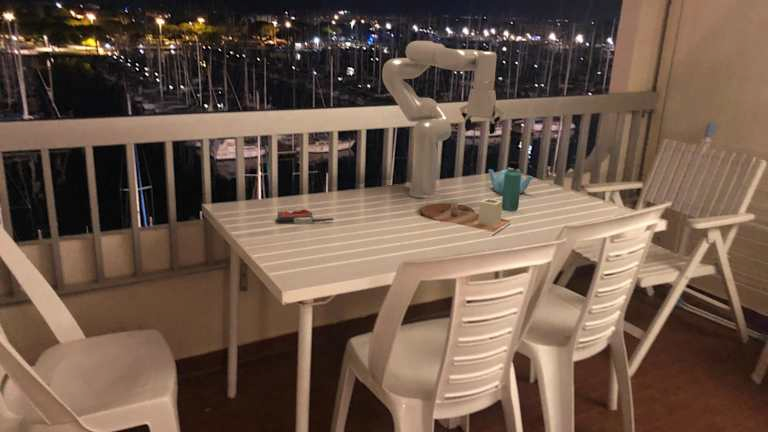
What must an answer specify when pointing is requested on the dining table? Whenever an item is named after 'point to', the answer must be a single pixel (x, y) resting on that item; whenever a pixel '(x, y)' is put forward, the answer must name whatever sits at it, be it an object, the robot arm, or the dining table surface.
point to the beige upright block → (490, 212)
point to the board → (467, 219)
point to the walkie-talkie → (298, 217)
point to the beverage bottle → (511, 188)
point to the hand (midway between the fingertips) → (479, 132)
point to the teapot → (499, 181)
